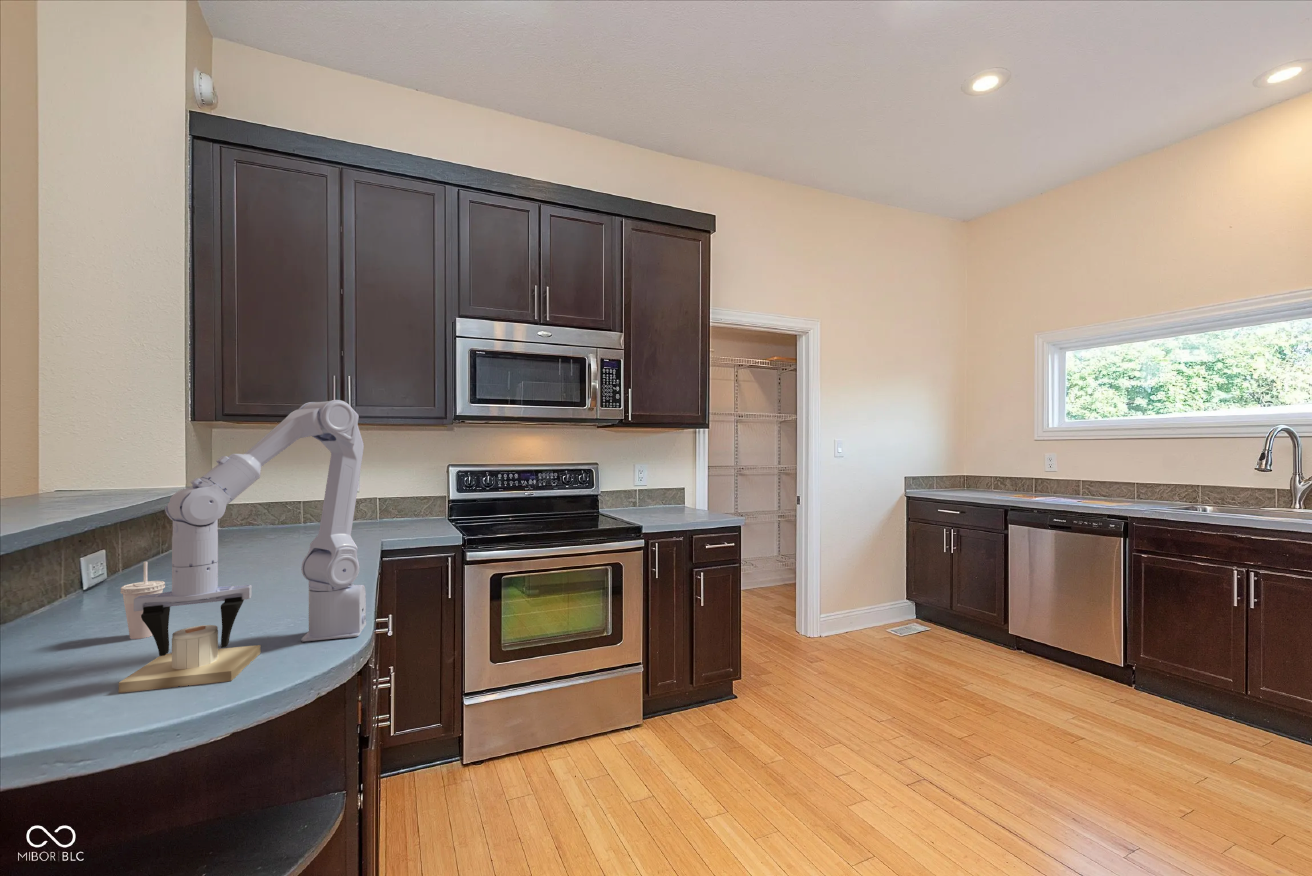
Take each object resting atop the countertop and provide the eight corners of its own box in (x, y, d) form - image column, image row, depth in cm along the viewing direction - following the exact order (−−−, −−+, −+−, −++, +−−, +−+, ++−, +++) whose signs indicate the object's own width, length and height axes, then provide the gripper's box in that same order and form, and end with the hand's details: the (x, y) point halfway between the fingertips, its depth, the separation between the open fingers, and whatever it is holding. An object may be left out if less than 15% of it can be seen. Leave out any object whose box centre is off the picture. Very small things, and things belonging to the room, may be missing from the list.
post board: (260, 654, 99) (260, 624, 99) (231, 682, 88) (231, 647, 88) (162, 664, 95) (162, 632, 95) (118, 694, 84) (118, 658, 84)
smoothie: (138, 642, 106) (138, 565, 106) (110, 640, 107) (110, 564, 107) (174, 631, 112) (174, 558, 112) (147, 629, 113) (147, 557, 113)
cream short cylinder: (206, 653, 95) (206, 620, 95) (224, 659, 93) (224, 625, 93) (165, 665, 90) (165, 630, 91) (182, 671, 88) (182, 635, 88)
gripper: (254, 555, 99) (254, 635, 99) (144, 563, 92) (143, 649, 92) (247, 562, 92) (247, 647, 92) (129, 572, 86) (128, 664, 85)
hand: (195, 649), depth 92 cm, fingers open, 7 cm apart
